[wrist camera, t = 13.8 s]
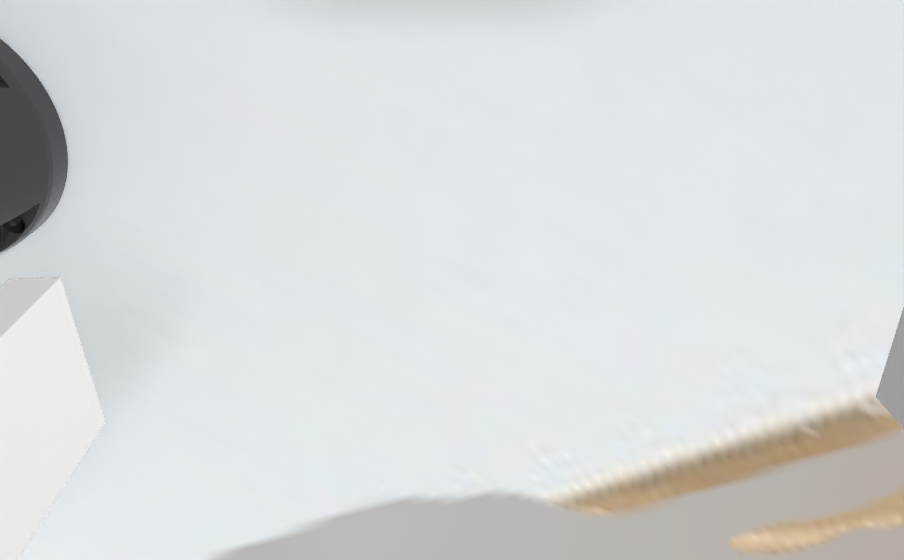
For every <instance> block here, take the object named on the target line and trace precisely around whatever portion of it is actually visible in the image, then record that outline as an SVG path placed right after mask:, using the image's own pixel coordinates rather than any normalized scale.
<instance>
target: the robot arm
mask: <svg viewBox="0 0 904 560" xmlns="http://www.w3.org/2000/svg"><path fill="white" fill-rule="evenodd" d="M67 167H68V156H67V146H66V140H65V135H64V131H63V128H62V124H61V122H60V119H59V116H58V114H57V111H56V109H55V107H54V105H53V103H52V101H51V99H50V97H49V95H48V93H47V92H46V90H45V88H44V87H43V85H42V84H41V82H40V81H39V79H38V78H37V77H36V75H35V74H34V73H33V71H32V70H31V69H30V68H29V66H28V65H27V64H26V63H25V62H24V61H23V60H22V59H21V58H20V57H19V55H18V54H17V53H16V52H15V51H13V50H12V49H11V48H10V47H9V46H8V45H7V44H6V43H5V42H3V41H2V40H1V39H0V253H1V252H3V251H5V250H8V249H9V248H11V247H13V246H15V245H16V244H18V243H19V242H21V241H22V240H23V239H24V238H26V237H27V236H28V235H30V234H31V233H32V232H33V231H35V230H36V229H37V228H38V227H40V226H41V225H42V224H43V223H44V222H45V221H46V220H47V219H48V218H49V216H50V215H51V214H52V212H53V211H54V210H55V208H56V206H57V204H58V203H59V200H60V198H61V196H62V193H63V190H64V187H65V182H66V177H67ZM876 398H877V399H878V400H879V401H880V402H881V403H882V404H883V406H884V407H885V408H886V409H887V410H888V411H889V412H890V413H891V415H892V416H893V417H894V418H895V419H896V420H897V421H898V422H899V423H900V425H901V426H902V427H903V428H904V308H903V311H902V314H901V318H900V321H899V324H898V327H897V330H896V334H895V337H894V340H893V343H892V346H891V350H890V353H889V356H888V359H887V362H886V366H885V369H884V372H883V375H882V378H881V381H880V385H879V388H878V391H877V394H876ZM104 423H105V418H104V415H103V412H102V409H101V406H100V402H99V399H98V396H97V393H96V390H95V386H94V383H93V380H92V377H91V373H90V370H89V367H88V364H87V361H86V357H85V354H84V351H83V348H82V345H81V341H80V338H79V335H78V332H77V329H76V325H75V322H74V319H73V316H72V313H71V309H70V306H69V303H68V300H67V297H66V293H65V290H64V287H63V284H62V281H61V277H52V278H19V279H9V280H8V281H7V282H5V283H4V284H3V285H2V286H1V287H0V560H18V559H19V557H20V556H21V554H22V553H23V551H24V549H25V548H26V546H27V545H28V543H29V542H30V540H31V538H32V537H33V535H34V534H35V532H36V530H37V529H38V527H39V526H40V524H41V523H42V521H43V519H44V518H45V516H46V515H47V513H48V512H49V510H50V508H51V507H52V505H53V504H54V502H55V501H56V499H57V497H58V496H59V494H60V493H61V491H62V489H63V488H64V486H65V485H66V483H67V482H68V480H69V478H70V477H71V475H72V474H73V472H74V471H75V469H76V467H77V466H78V464H79V463H80V461H81V460H82V458H83V456H84V455H85V453H86V452H87V450H88V448H89V447H90V445H91V444H92V442H93V441H94V439H95V437H96V436H97V434H98V433H99V431H100V430H101V428H102V426H103V425H104Z"/></svg>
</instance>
